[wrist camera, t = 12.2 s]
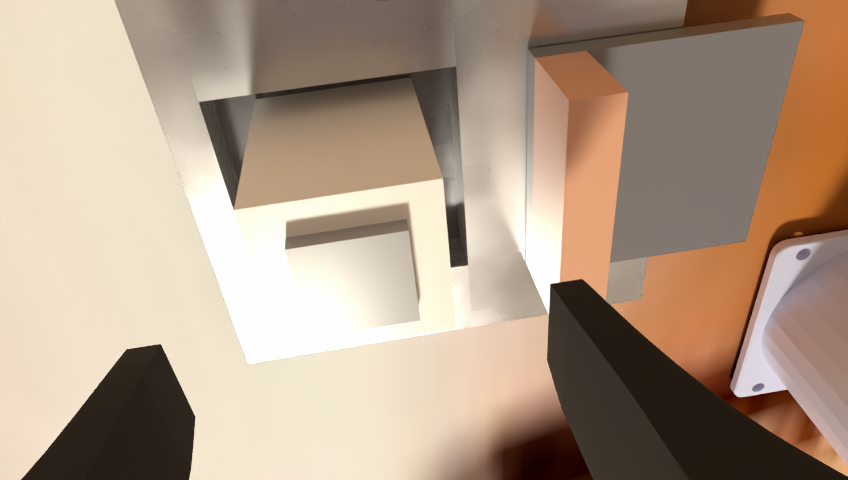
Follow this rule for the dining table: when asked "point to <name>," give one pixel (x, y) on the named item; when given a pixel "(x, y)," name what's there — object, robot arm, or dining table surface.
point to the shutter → (649, 143)
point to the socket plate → (367, 63)
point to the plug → (345, 217)
